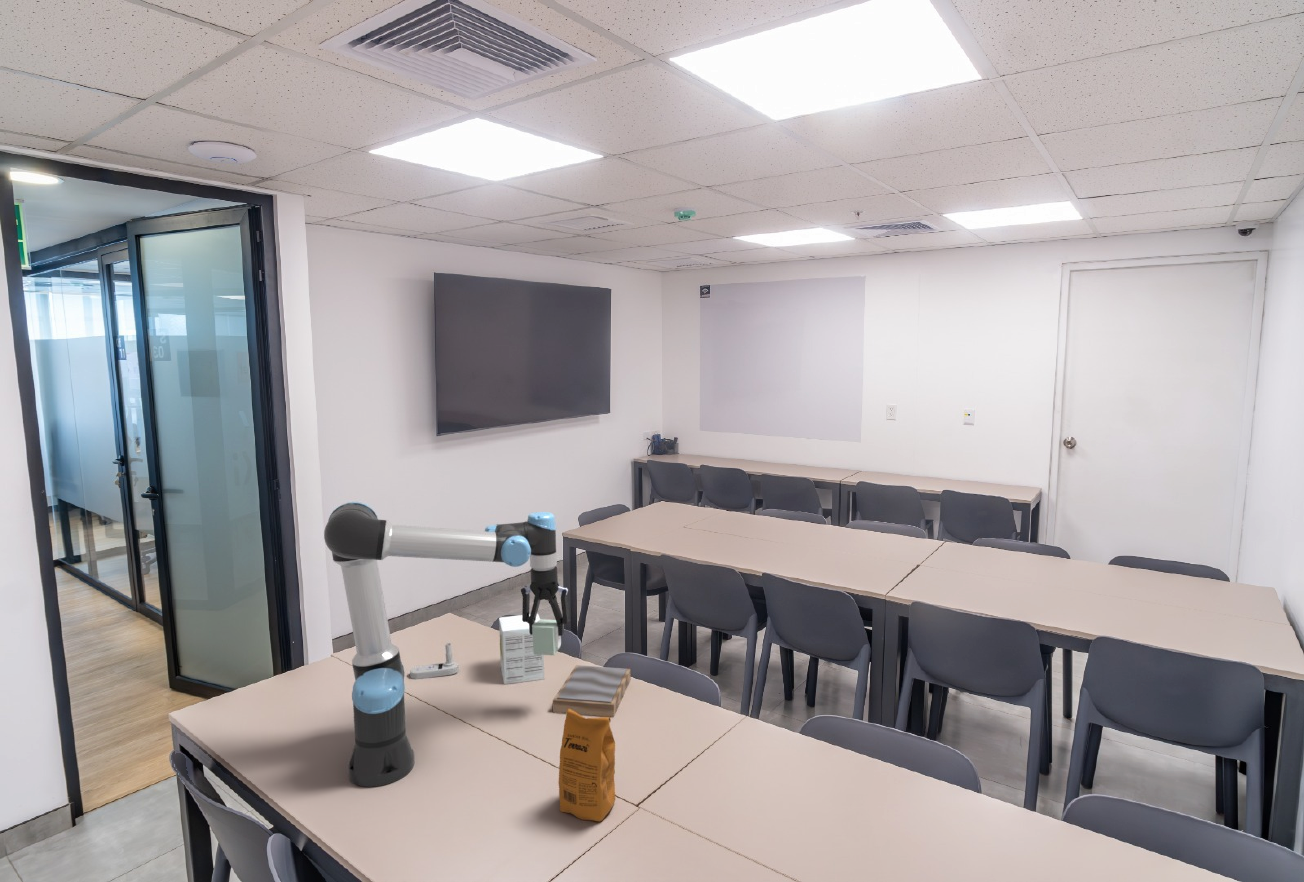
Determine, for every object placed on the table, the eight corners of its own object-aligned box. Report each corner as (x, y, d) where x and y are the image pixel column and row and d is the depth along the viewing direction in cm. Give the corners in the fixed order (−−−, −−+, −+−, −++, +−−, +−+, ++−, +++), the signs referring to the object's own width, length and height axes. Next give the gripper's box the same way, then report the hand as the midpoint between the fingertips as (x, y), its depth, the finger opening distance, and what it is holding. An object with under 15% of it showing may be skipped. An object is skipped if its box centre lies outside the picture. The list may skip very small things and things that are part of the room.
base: (613, 717, 192) (613, 703, 192) (553, 712, 195) (552, 698, 195) (630, 679, 216) (630, 667, 215) (576, 675, 219) (576, 664, 218)
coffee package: (575, 787, 159) (573, 698, 157) (621, 801, 154) (620, 709, 152) (551, 811, 151) (549, 717, 148) (599, 827, 145) (598, 730, 143)
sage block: (553, 655, 190) (552, 627, 189) (533, 654, 191) (532, 627, 190) (560, 646, 196) (559, 620, 195) (540, 645, 197) (539, 619, 196)
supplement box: (499, 667, 225) (498, 617, 223) (539, 662, 229) (538, 612, 227) (503, 685, 212) (501, 631, 211) (545, 679, 216) (544, 626, 215)
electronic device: (409, 645, 221) (457, 640, 224) (411, 674, 222) (459, 668, 225) (407, 652, 215) (456, 646, 219) (409, 681, 216) (458, 675, 220)
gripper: (579, 564, 193) (582, 642, 195) (516, 562, 196) (520, 639, 199) (572, 571, 186) (575, 652, 188) (506, 570, 189) (510, 649, 191)
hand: (547, 645), depth 193 cm, fingers closed on sage block, 6 cm apart
